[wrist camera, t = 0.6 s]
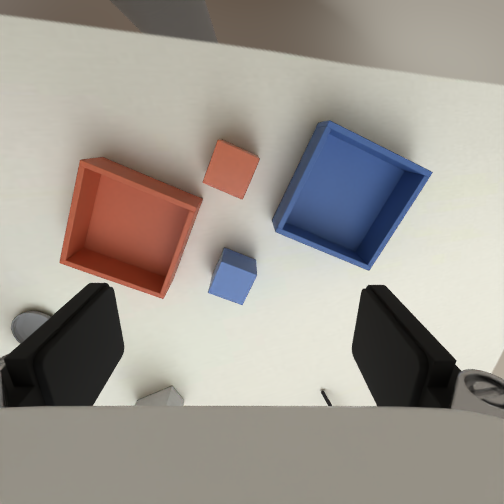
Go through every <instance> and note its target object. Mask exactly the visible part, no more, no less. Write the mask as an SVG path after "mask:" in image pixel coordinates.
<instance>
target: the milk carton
mask: <svg viewBox="0 0 504 504" xmlns="http://www.w3.org/2000/svg"><path fill="white" fill-rule="evenodd" d="M183 405H184V400H183V399H182V397H181V396H180V395H179V394H178V392H177V391H176V390H175V389H174V388H173V386H171V387H169V388H166V389H164V390H161V391H159V392H156V393H154V394H151V395H149V396H146V397H144V398H141V399H139V400H137V402H136V404H135V406H183Z"/></svg>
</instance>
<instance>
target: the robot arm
mask: <svg viewBox="0 0 504 504" xmlns="http://www.w3.org/2000/svg"><path fill="white" fill-rule="evenodd" d="M123 353H124V342H123V336H122V331H121V325H120V320H119V314H118V309H117V304H116V298H115V293H114V289H113V288H112V287H109V285H108V284H107V283H89V284H88V285H87V286H86V287H84V288H83V289H82V290H81V291H80V292H79V293H78V294H76V295H75V296H74V297H73V298H72V299H71V300H70V301H69V302H67V303H66V304H65V305H64V306H63V307H62V308H61V309H59V310H58V311H57V312H56V313H55V314H54V315H53V316H52V317H50V318H49V319H48V320H47V321H46V322H45V323H44V324H42V325H41V326H40V327H39V328H38V329H37V330H36V331H35V332H33V333H32V334H31V335H30V336H29V337H28V338H27V339H25V340H24V341H23V342H22V343H21V344H20V345H19V346H18V347H16V348H15V349H14V350H13V351H12V352H11V353H10V354H8V355H7V356H6V357H5V358H4V362H5V365H6V366H5V367H4V368H3V369H2V370H0V504H504V380H503V379H502V378H500V377H497V376H495V375H493V374H491V373H487V372H484V371H481V370H474V369H468V370H463V371H461V370H460V369H459V368H458V367H457V366H456V365H455V363H456V360H455V359H454V357H453V356H452V355H451V354H450V353H449V352H448V351H447V350H446V349H445V348H444V347H443V346H442V345H441V344H440V343H439V342H438V341H437V340H436V338H435V337H434V336H433V335H432V334H431V333H430V332H429V331H428V330H427V329H426V328H425V327H424V326H423V325H422V324H421V323H420V322H419V321H418V320H417V318H416V317H415V316H414V315H413V314H412V313H411V312H410V311H409V310H408V309H407V308H406V307H405V306H404V305H403V304H402V303H401V302H400V301H399V299H398V298H397V297H396V296H395V295H394V294H393V293H392V292H391V291H390V290H389V289H388V288H387V287H386V286H385V285H368V286H367V287H366V289H362V292H361V297H360V303H359V309H358V314H357V320H356V326H355V332H354V337H353V343H352V354H353V357H354V359H355V361H356V363H357V365H358V367H359V369H360V371H361V373H362V375H363V378H364V380H365V382H366V384H367V386H368V388H369V390H370V392H371V394H372V396H373V398H374V400H375V402H376V404H377V406H378V407H376V406H93V404H94V403H95V401H96V399H97V398H98V396H99V394H100V393H101V391H102V389H103V388H104V386H105V384H106V383H107V381H108V379H109V377H110V376H111V374H112V372H113V371H114V369H115V367H116V366H117V364H118V362H119V361H120V359H121V357H122V355H123Z"/></svg>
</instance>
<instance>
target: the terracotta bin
mask: <svg viewBox="0 0 504 504" xmlns="http://www.w3.org/2000/svg"><path fill="white" fill-rule="evenodd" d="M202 200H203V199H202V198H200V197H197V196H195V195H192V194H190V193H188V192H185V191H183V190H180V189H178V188H176V187H173V186H171V185H168V184H166V183H164V182H161V181H159V180H156V179H154V178H152V177H149V176H147V175H144V174H142V173H140V172H137V171H135V170H132V169H130V168H128V167H125V166H123V165H120V164H118V163H116V162H113V161H111V160H108V159H106V158H104V157H98V158H90V159H83V160H80V163H79V168H78V173H77V178H76V183H75V188H74V193H73V198H72V203H71V208H70V213H69V218H68V223H67V228H66V233H65V238H64V243H63V248H62V253H61V259H60V263H61V264H64V265H67V266H70V267H72V268H75V269H78V270H81V271H84V272H87V273H90V274H93V275H96V276H98V277H101V278H104V279H107V280H110V281H113V282H116V283H119V284H121V285H124V286H127V287H130V288H133V289H136V290H139V291H142V292H144V293H147V294H150V295H153V296H156V297H159V298H162V299H164V297H165V295H166V293H167V291H168V289H169V287H170V285H171V283H172V281H173V279H174V276H175V273H176V270H177V268H178V265H179V262H180V260H181V257H182V254H183V252H184V249H185V246H186V243H187V241H188V238H189V235H190V233H191V230H192V227H193V225H194V222H195V219H196V216H197V214H198V211H199V208H200V206H201V203H202Z"/></svg>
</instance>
